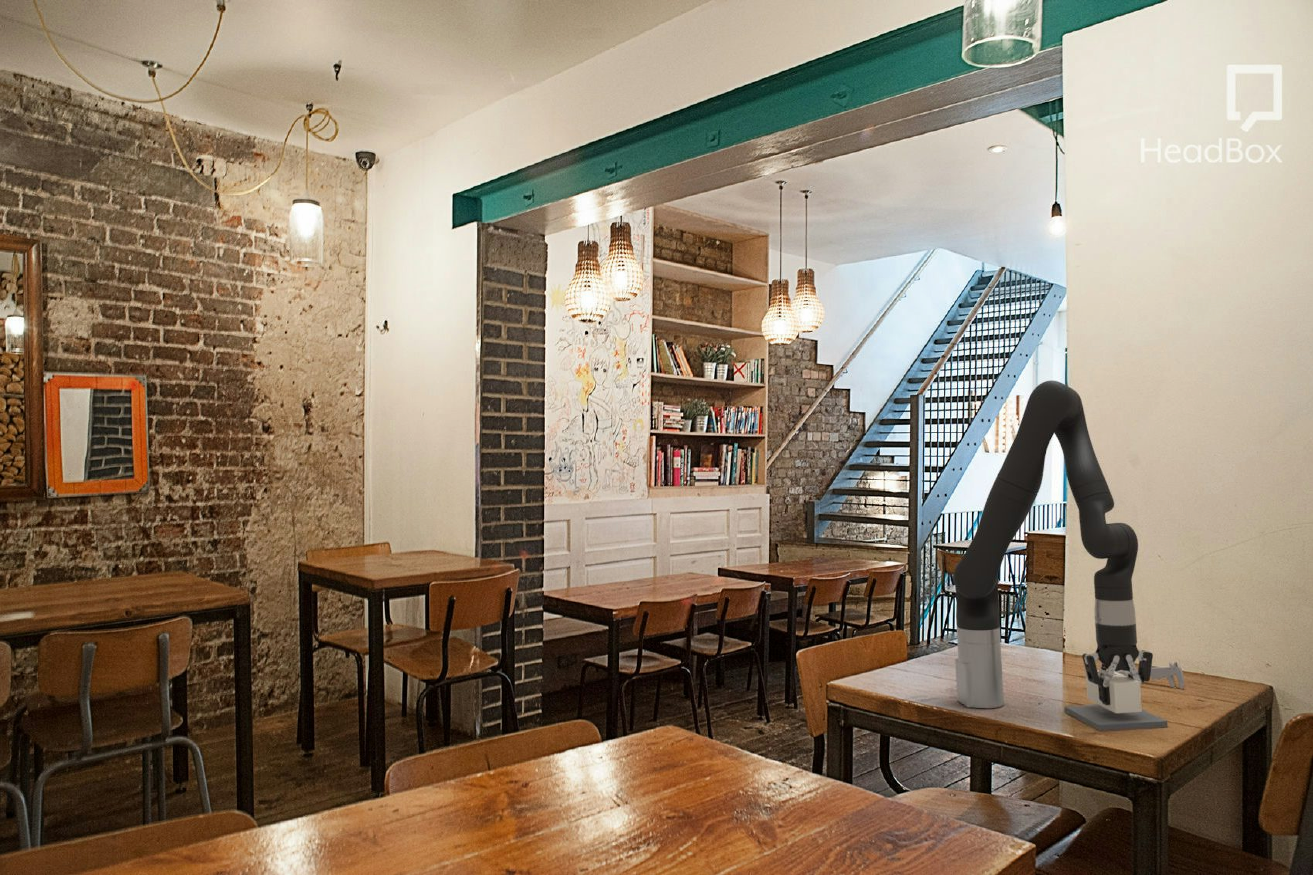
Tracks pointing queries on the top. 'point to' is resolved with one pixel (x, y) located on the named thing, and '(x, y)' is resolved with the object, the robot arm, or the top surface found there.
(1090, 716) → the pin plate
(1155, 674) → the caliper
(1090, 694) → the socket block
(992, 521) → the robot arm
